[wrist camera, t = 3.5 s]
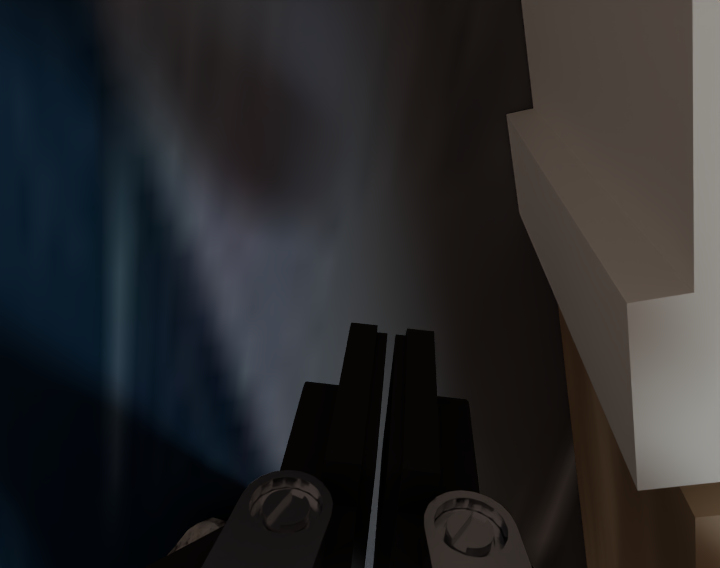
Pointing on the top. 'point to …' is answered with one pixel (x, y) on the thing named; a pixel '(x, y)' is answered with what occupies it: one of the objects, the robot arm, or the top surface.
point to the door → (632, 494)
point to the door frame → (631, 214)
